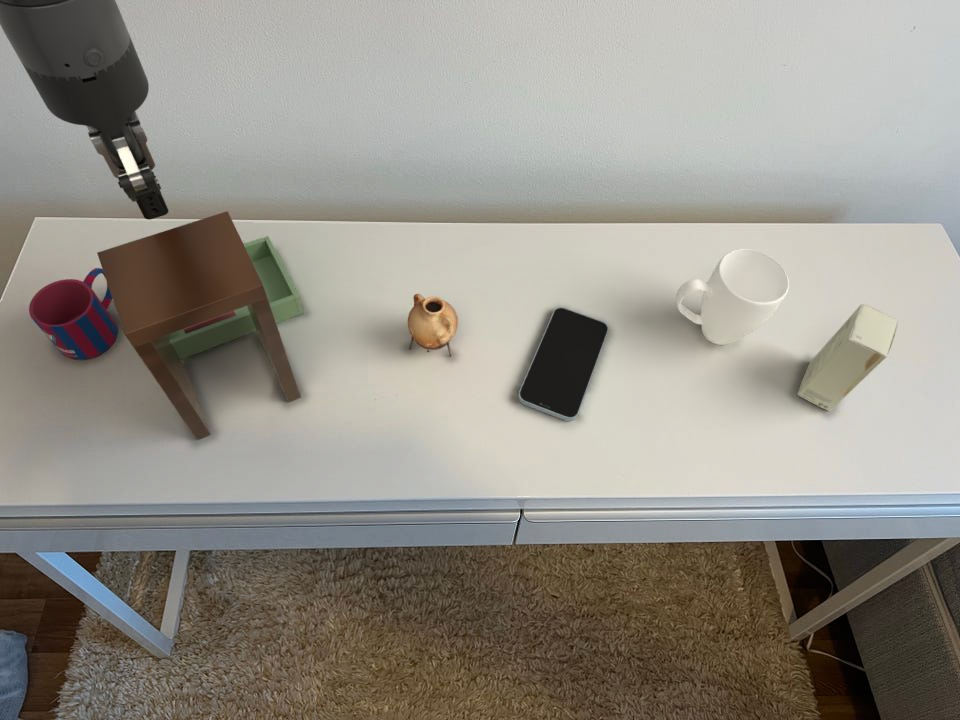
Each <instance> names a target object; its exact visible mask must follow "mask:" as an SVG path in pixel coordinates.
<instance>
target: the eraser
mask: <svg viewBox="0 0 960 720" xmlns="http://www.w3.org/2000/svg"><path fill="white" fill-rule="evenodd" d="M233 316H236V313H235V311H231V312H228V313H226V314H223V315H220V316H217V317H215V318H212V319H209V320H206V321H204V322H201V323H198V324H195V325H193V326H190V327H187V328H184V329H183V330H184V332H185V334H187V333H190V332H192V331H195V330H198V329H201V328H203V327H206V326H209V325H211V324H214V323H217V322H220V321H222V320H225V319H228V318H231V317H233Z"/></svg>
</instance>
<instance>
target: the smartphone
mask: <svg viewBox="0 0 960 720" xmlns="http://www.w3.org/2000/svg"><path fill="white" fill-rule="evenodd" d="M609 329H610V328H609V325H608V323H606V322H605V321H602V320H600V319H597V318H594V317H592V316H589V315H586V314H583V313H581V312H578V311H575V310H572V309H570V308H567V307H564V306H563V307H562V306H560V307H556V308H555V309H554V310H553V311H552V314H551V316H550V318H549V321H548V323H547V326H546V328H545V329H544V332H543V334H542V338H541V339H540V342H539V344H538V347H537V349H536V351H535V353H534V355H533V358H532V360H531V362H530V365H529V368H528V369H527V372H526V374H525V377H524V379H523V381H522V384H521V386H520V388H519V391H518V396H517V397H518V401H519V402H520V403H521V404H522V405H524V406H526V407H529V408H532V409H534V410H537V411H539V412H542V413H545V414H547V415H550V416H553V417H555V418H557V419H559V420H562V421H565V422H572V421H574V420H576V418H577V417H578V416H579V413H580V410H581V407H582V406H583V402H584V400H585V398H586V394H587V392H588V389H589V386H590V383H591V380H592V377H593V375H594V372H595V369H596V366H597V363H598V361H599V358H600V355H601V353H602V350H603V347H604V344H605V341H606V339H607V336H608V333H609Z"/></svg>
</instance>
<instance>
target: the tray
mask: <svg viewBox="0 0 960 720" xmlns="http://www.w3.org/2000/svg"><path fill="white" fill-rule="evenodd" d="M243 244H244V246H245V248H246V250H247V252H248V254H249V257H250V259H251V261H252V263H253V265H254V267H255V269H256V271H257V273H258V275H259V277H260V280H261V282H262V284H263V286H264V289H265V292H266V295H267V298H268V301H269V304H270V307H271V310H272V313H273V316H274V319H275V322H276V324H279V323H282V322H284V321H287V320H289V319H291V318H295V317H297V316H299V315H302V314H304V309H303V306H302V302H301V298H300V295H299V293H298V291H297V289H296V288H295V285H294V283H293V282H292V279H291V277H290V276H289V273H288V272H287V269H286V268H285V265H284V264H283V262H282V260H281V257H280V256H279V253H278V251H277V250H276V248H275V246H274V244H273V242H272V240H271V238H270V236H269V235H266V236H264V237H263V236H262V237H260V238H257V239H256V240H255V239H254V240H251V241H247V242H245V243H243ZM234 311H235V313H236V316H233V317H231V318H228V319H225V320H222V321H220V322H217V323H214V324H211V325H209V326H206V327H203V328H201V329H198V330H195V331H192V332H190V333H187V334H185V332H184V330H183V329H182V330H179V331H176V332H173V333H171V334H168V335H166V336H167V337H168V339H169V341H170V342H171V344H172V346H173V347H174V349H175V351H176V352H177V354H178V356H179V357H180V359H181V360H183V359H186V358H188V357H189V358H190V357H192V356H194V355H197V354H199V353H202V352H205V351H207V350H210V349H212V348H216V347H218V346H221V345H223V344H225V343H228V342H231V341H234V340H236V339H239V338H241V337H244V336H247V335H250V334H252V333H255V332H257V331H256V328H255V325H254V323H253V320H252V318H251V315H250V312H249V310H248V307H247V306H245V307H242V308H239V309H237V310H234Z"/></svg>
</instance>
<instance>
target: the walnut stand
mask: <svg viewBox="0 0 960 720" xmlns="http://www.w3.org/2000/svg"><path fill="white" fill-rule="evenodd" d="M244 244H245V243H244V242H243V240H242V238H241V236H240V233H239V231H238V230H237V227H236V225H235V224H234V221H233V219H232V216H231V215H230V213H229V211H228V210H227V211H224V212H223V211H222V212H220V213H217V214H213V215H211V216H210V215H209V216H208V217H205V218H201V219H198V220H194V221H192V222H188V223H186V224H183V225H182V224H181V225H179V226H176V227H173V228H170V229H167V230H164V231H161V232H158V233H154V234H151V235H148V236H145V237H140V238H138V239H135V240H132V241H129V242H126V243H123V244H120V245H119V244H118V245H116V246H113V247H110V248H106V249H104V250H100V251H98V252H96V254H97V258H98V260H99V264H100V266H101V269H103V272H104V275H105V276H104V275H103V276H104V279H105V281H106V285H107V284H108V287H109V290H110V293H111V296H112V302H113V305H114V307H115V311H116V313H117V316H118V319H119V323H120V326H121V329H122V331H123V334H124V336H125V337H126V339H127V341H128V342H129V343H130V344H131V346H132V347H133V349H134V351H135V352H136V354H137V355H138V356H139V358H140V359H141V360H142V362H143V363H144V365H145V367H146V368H147V369H148V371H149V372H150V374H151V375H152V376H153V378H154V379H155V381H156V382H157V384H158V386H159V387H160V388H161V389H162V391H163V392H164V394H165V396H166V397H167V398H168V400H169V401H170V403H171V405H172V406H173V407H174V409H175V410H176V412H177V413H178V414H179V416H180V417H181V419H182V421H183V422H184V423H185V424H186V426H187V427H188V429H189V430H190V432H191V433H192V435H193V436H194V437H195V439H196V440H197V441H200V440H202V439H204V438H207V437H209V436H211V432H210V428H209V427H208V423H207V420H206V418H205V415H204V413H203V410H202V407H201V405H200V402H199V399H198V397H197V394H196V392H195V390H194V387H193V384H192V381H191V379H190V376H189V374H188V371H187V369H186V366H185V363H184V362H183V361H182V359H180V357H179V356H178V354H177V352H176V351H175V349H174V347H173V346H172V344H171V342H170V341H169V339H168V337H167V336H166V335H168V334H171V333H173V332H176V331H179V330H182V329H184V328H187V327H190V326H193V325H195V324H198V323H201V322H204V321H206V320H209V319H212V318H215V317H217V316H220V315H223V314H226V313H228V312H231V311H234V310H237V309H239V308H242V307H245V306H247V307H248V310H249V312H250V315H251V318H252V320H253V323H254V325H255V328H256V331H255V332H256V333H257V336H258V338H259V340H260V342H261V345H262V347H263V349H264V351H265V354H266V356H267V359H268V360H269V362H270V364H271V367H272V369H273V371H274V373H275V376H276V378H277V381H278V382H279V384H280V387H281V389H282V391H283V394H284V395H285V397H286V400H287V402H288V403H291V402H293V401H295V400H298V399H300V398H301V397H302V396H301V393H300V390H299V387H298V384H297V381H296V378H295V376H294V373H293V370H292V366H291V363H290V360H289V357H288V355H287V352H286V351H287V350H286V349H285V345H284V342H283V340H282V336H281V334H280V330H279V328H278V325H277V323H276V322H275V319H274V316H273V313H272V310H271V307H270V304H269V301H268V298H267V295H266V292H265V289H264V286H263V284H262V282H261V280H260V277H259V275H258V273H257V271H256V269H255V267H254V265H253V263H252V261H251V259H250V257H249V254H248V252H247V250H246V248H245V246H244Z"/></svg>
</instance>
